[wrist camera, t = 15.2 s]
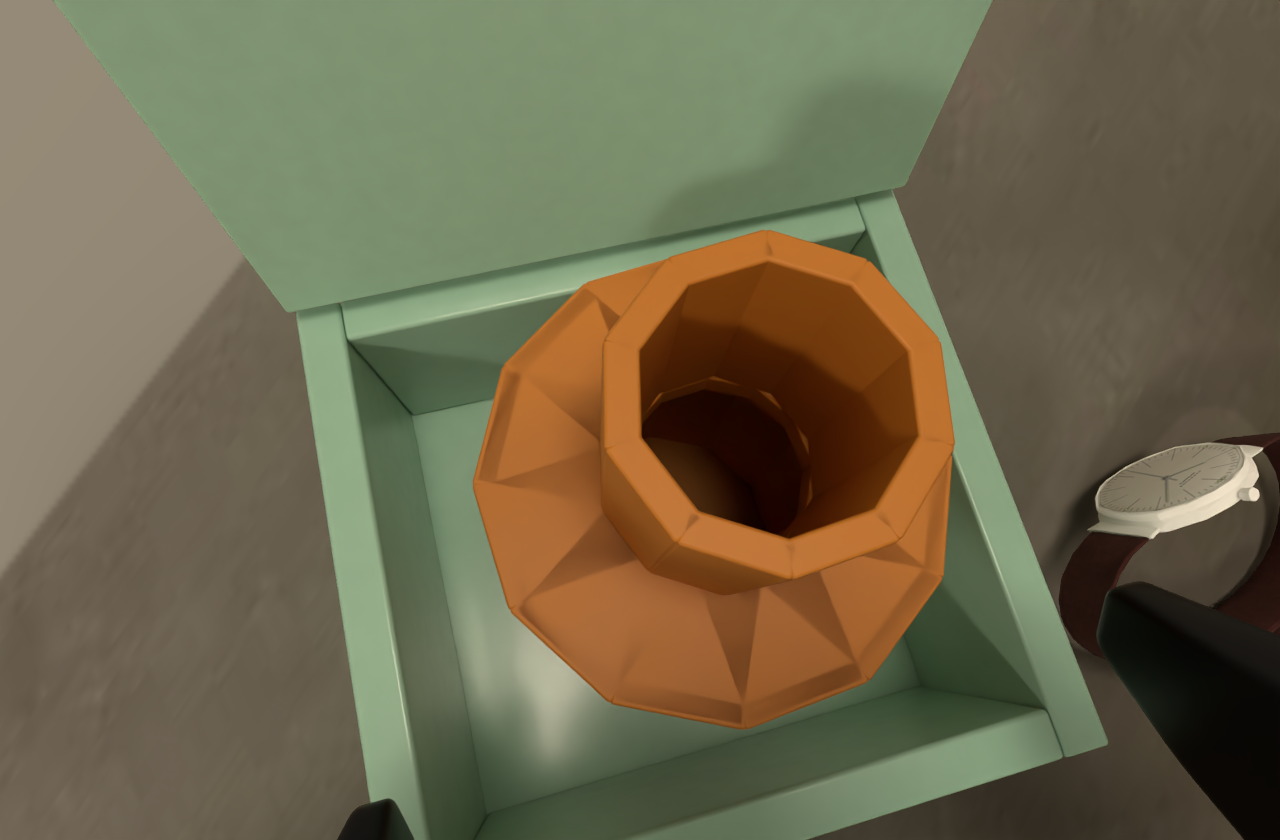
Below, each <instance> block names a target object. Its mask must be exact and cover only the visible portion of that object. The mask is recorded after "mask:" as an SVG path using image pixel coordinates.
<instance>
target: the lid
mask: <svg viewBox="0 0 1280 840" xmlns="http://www.w3.org/2000/svg"><path fill="white" fill-rule="evenodd" d="M53 1H54V2H55V3H56V5H57V6H58V8H59V9H60V10H61V12H62V13H63V14H64V16H65V17H66V18H67V20H68V21H69V22H70V24H71V25H72V26H73V27H74V29H75V30H76V32H77V33H78V34H79V36H80V37H81V38H82V40H83V41H84V42H85V44H86V45H87V46H88V48H89V49H90V50H91V52H92V53H93V54H94V56H95V57H96V58H97V60H98V61H99V62H100V64H101V65H102V66H103V68H104V69H105V70H106V72H107V73H108V74H109V76H110V77H111V78H112V80H113V81H114V82H115V84H116V85H117V86H118V88H119V89H120V90H121V92H122V93H123V94H124V96H125V97H126V98H127V100H128V101H129V102H130V104H131V105H132V106H133V108H134V109H135V110H136V112H137V113H138V114H139V116H140V117H141V118H142V119H143V121H144V122H145V124H146V125H147V126H148V128H149V129H150V130H151V132H152V133H153V134H154V136H155V137H156V138H157V140H158V141H159V142H160V144H161V145H162V146H163V148H164V149H165V150H166V152H167V153H168V154H169V156H170V157H171V158H172V160H173V161H174V162H175V164H176V165H177V167H178V168H179V169H180V170H181V172H182V173H183V175H184V176H185V177H186V179H187V180H188V181H189V182H190V184H191V185H192V186H193V188H194V189H195V191H196V192H197V193H198V195H199V196H200V197H201V199H202V200H203V201H204V203H205V204H206V205H207V207H208V208H209V209H210V210H211V212H212V213H213V215H214V216H215V217H216V219H217V220H218V221H219V222H220V224H221V225H222V227H223V228H224V229H225V230H226V232H227V233H228V234H229V236H230V237H231V239H232V240H233V241H234V242H235V244H236V245H237V246H238V248H239V249H240V251H241V252H242V253H243V255H244V256H245V257H246V259H247V260H248V261H249V263H250V264H251V265H252V267H253V268H254V269H255V271H256V272H257V273H258V275H259V276H260V277H261V279H262V280H263V281H264V283H265V284H266V285H267V287H268V288H269V289H270V291H271V292H272V293H273V295H274V296H275V297H276V299H277V300H278V301H279V303H280V304H281V305H282V307H283V308H284V309H285V311H286V312H294V311H299V310H304V309H309V308H314V307H319V306H324V305H328V304H333V303H338V302H343V301H348V300H353V299H358V298H363V297H367V296H372V295H377V294H382V293H387V292H392V291H397V290H402V289H406V288H411V287H416V286H421V285H426V284H431V283H436V282H441V281H445V280H450V279H455V278H460V277H465V276H470V275H475V274H479V273H484V272H489V271H494V270H499V269H504V268H509V267H514V266H518V265H523V264H528V263H533V262H538V261H543V260H548V259H553V258H557V257H562V256H567V255H572V254H577V253H582V252H587V251H592V250H596V249H601V248H606V247H611V246H616V245H621V244H626V243H630V242H635V241H640V240H645V239H650V238H655V237H660V236H665V235H669V234H674V233H679V232H684V231H689V230H694V229H699V228H704V227H708V226H713V225H718V224H723V223H728V222H733V221H738V220H743V219H747V218H752V217H757V216H762V215H767V214H772V213H777V212H781V211H786V210H791V209H796V208H801V207H806V206H811V205H816V204H820V203H825V202H830V201H835V200H840V199H845V198H850V197H855V196H859V195H864V194H869V193H874V192H879V191H884V190H889V189H894V188H898V187H903V186H904V185H905V184H906V182H907V180H908V178H909V176H910V174H911V172H912V170H913V168H914V166H915V163H916V161H917V159H918V157H919V155H920V153H921V151H922V149H923V147H924V144H925V142H926V140H927V138H928V136H929V134H930V132H931V130H932V127H933V125H934V123H935V121H936V119H937V117H938V115H939V113H940V111H941V108H942V106H943V104H944V102H945V100H946V98H947V96H948V94H949V92H950V89H951V87H952V85H953V83H954V81H955V79H956V77H957V75H958V73H959V70H960V68H961V66H962V64H963V62H964V60H965V58H966V56H967V54H968V51H969V49H970V47H971V45H972V43H973V41H974V39H975V37H976V35H977V32H978V30H979V28H980V26H981V24H982V22H983V20H984V18H985V16H986V13H987V11H988V9H989V7H990V5H991V3H992V1H993V0H53Z"/></svg>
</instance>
